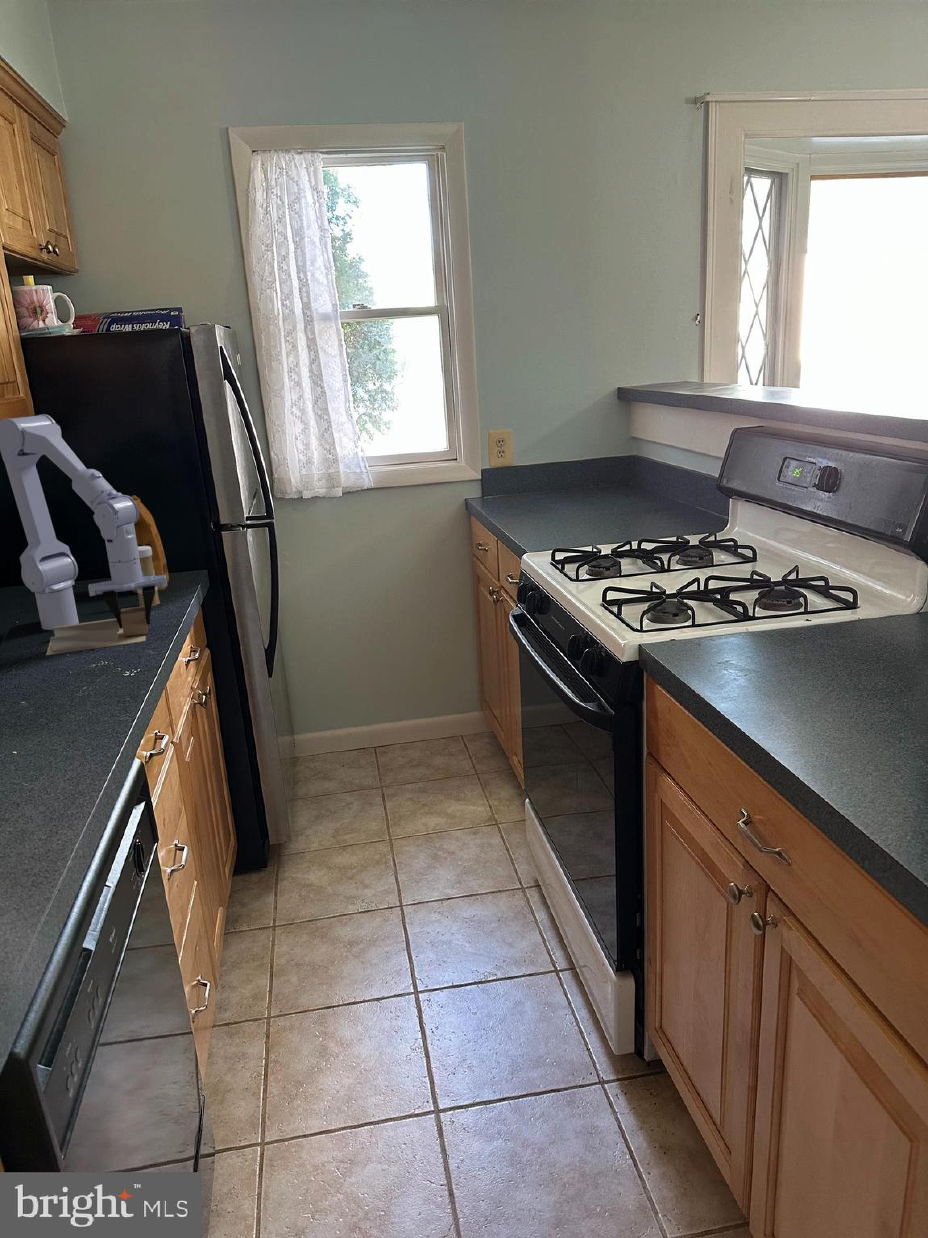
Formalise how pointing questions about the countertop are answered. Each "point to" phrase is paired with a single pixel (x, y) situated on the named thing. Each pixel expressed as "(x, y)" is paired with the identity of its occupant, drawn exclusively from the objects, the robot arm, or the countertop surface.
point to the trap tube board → (89, 636)
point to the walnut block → (134, 621)
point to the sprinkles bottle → (146, 571)
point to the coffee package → (150, 540)
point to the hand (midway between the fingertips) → (134, 625)
